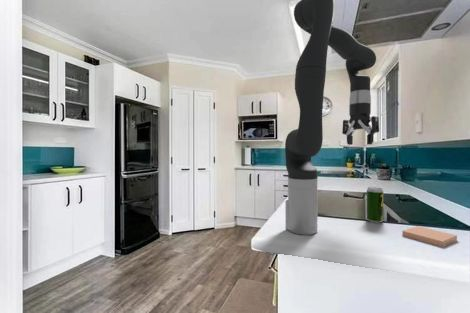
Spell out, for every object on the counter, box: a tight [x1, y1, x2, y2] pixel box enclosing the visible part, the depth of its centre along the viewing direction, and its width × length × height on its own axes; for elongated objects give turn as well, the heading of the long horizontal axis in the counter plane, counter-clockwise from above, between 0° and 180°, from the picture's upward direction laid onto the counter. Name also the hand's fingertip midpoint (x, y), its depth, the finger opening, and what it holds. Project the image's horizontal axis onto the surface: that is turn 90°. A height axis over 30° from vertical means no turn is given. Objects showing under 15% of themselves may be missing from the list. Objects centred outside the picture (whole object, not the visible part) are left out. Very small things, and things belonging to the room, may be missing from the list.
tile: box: [402, 225, 458, 248], centre depth 73 cm, size 2×9×10 cm
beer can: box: [365, 186, 384, 224], centre depth 90 cm, size 5×5×12 cm
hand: (359, 144), depth 97 cm, fingers open, 8 cm apart
